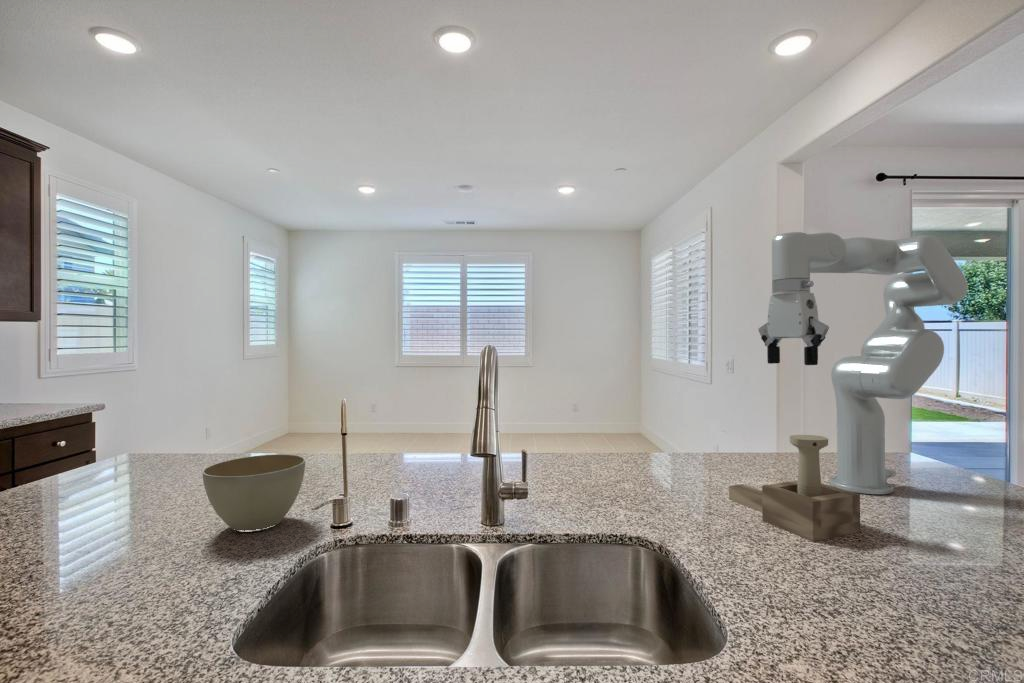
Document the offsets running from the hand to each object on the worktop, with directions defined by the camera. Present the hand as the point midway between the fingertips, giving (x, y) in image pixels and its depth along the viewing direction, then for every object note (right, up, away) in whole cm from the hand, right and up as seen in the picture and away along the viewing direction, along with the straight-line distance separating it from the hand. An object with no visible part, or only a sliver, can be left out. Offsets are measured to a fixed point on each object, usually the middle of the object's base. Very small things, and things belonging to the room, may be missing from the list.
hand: (791, 364), depth 113 cm
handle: (-6, -29, -17) cm, 34 cm away
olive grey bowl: (-114, -32, -14) cm, 119 cm away
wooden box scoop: (-8, -30, -11) cm, 33 cm away
